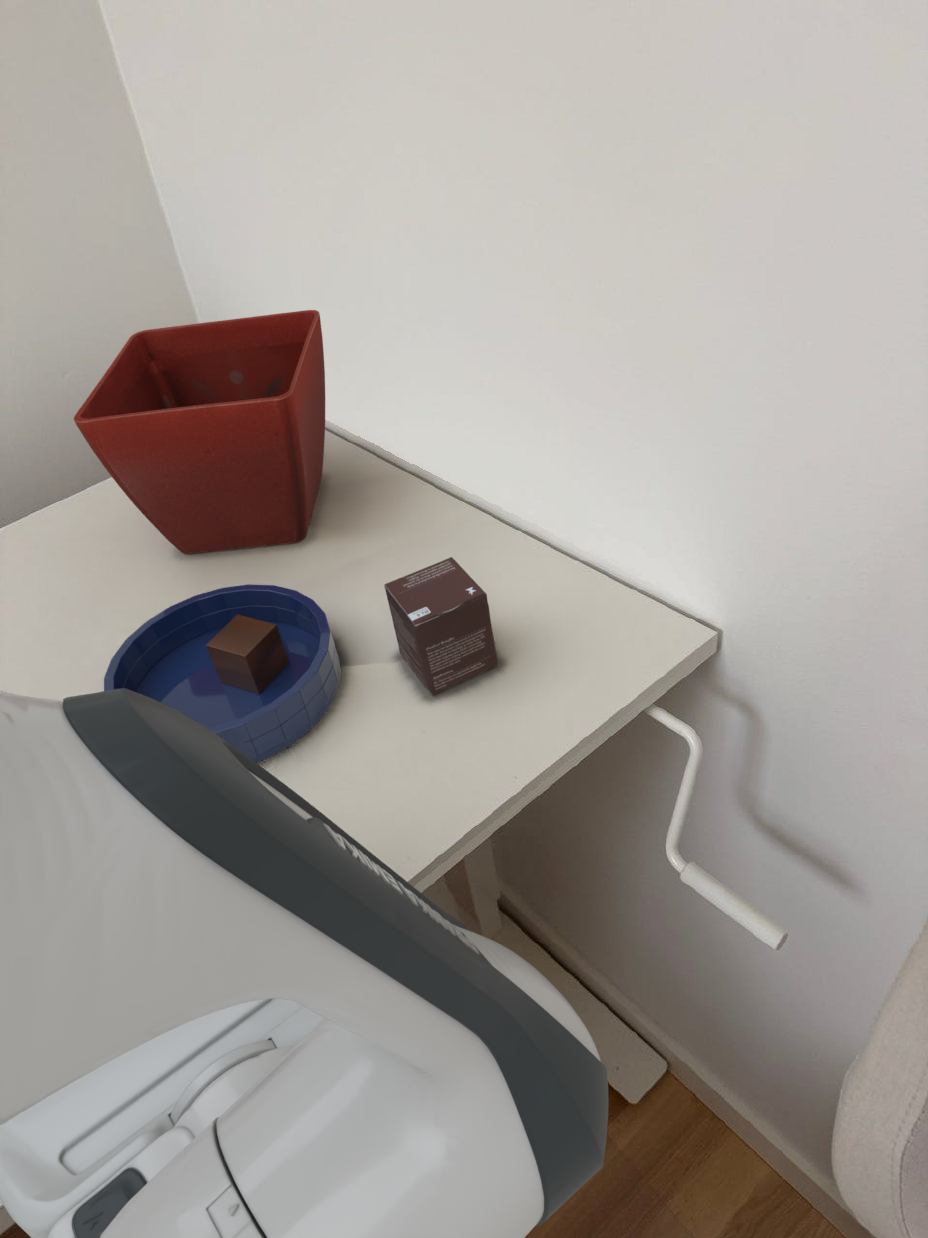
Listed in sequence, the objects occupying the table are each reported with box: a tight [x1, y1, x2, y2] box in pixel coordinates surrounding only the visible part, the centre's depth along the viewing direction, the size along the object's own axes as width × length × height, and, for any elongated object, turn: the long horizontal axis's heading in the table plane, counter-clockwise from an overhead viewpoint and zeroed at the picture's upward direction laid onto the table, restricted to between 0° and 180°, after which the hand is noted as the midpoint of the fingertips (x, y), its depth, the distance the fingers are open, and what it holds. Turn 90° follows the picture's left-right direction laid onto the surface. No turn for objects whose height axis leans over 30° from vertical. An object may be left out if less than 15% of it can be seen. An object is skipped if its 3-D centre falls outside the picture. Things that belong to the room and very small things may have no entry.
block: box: [206, 615, 289, 694], centre depth 76 cm, size 4×4×4 cm
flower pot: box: [73, 309, 326, 554], centre depth 92 cm, size 19×19×17 cm
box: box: [384, 556, 499, 696], centre depth 73 cm, size 6×6×7 cm
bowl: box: [103, 583, 342, 763], centre depth 75 cm, size 18×18×4 cm
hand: (144, 946), depth 52 cm, fingers open, 8 cm apart
